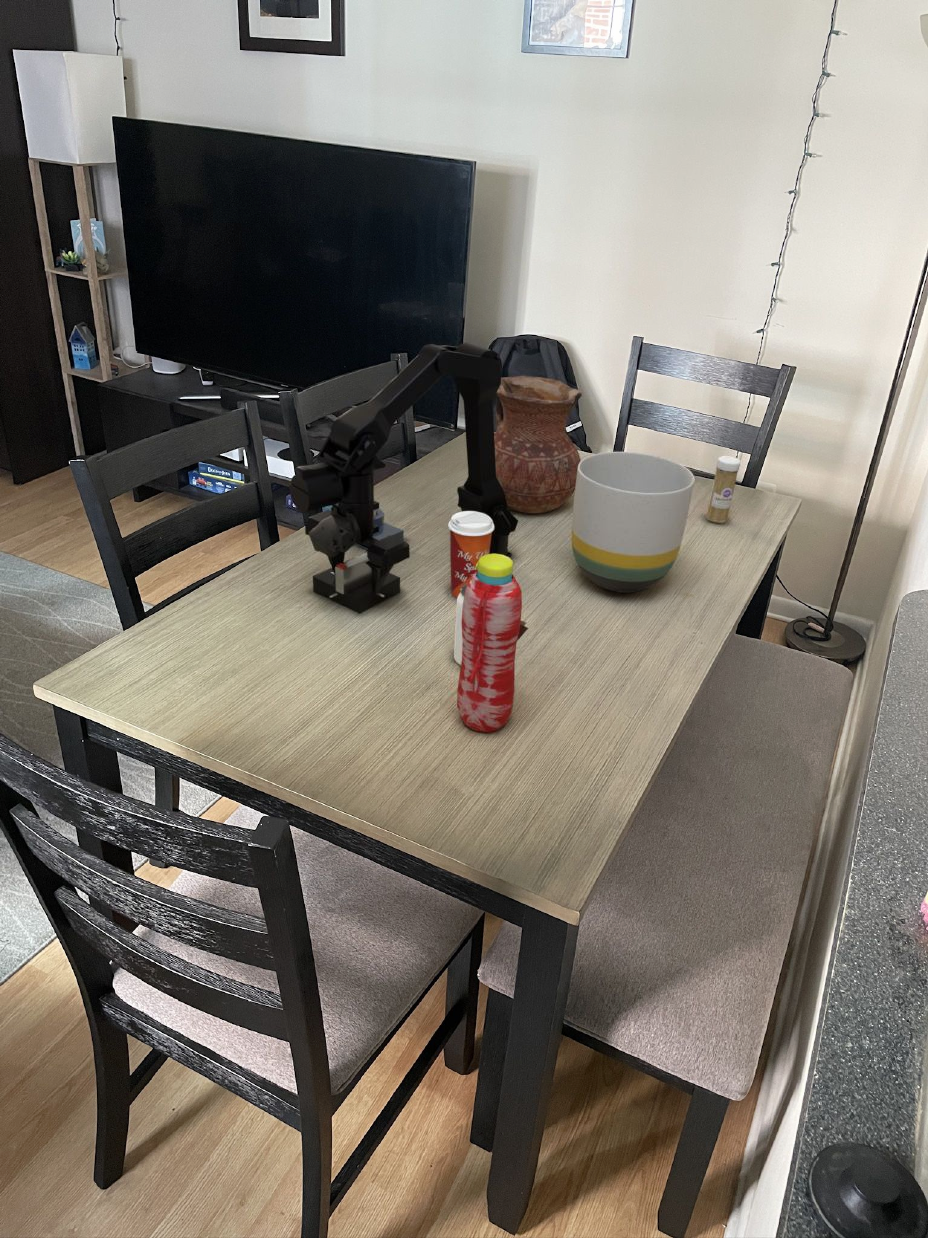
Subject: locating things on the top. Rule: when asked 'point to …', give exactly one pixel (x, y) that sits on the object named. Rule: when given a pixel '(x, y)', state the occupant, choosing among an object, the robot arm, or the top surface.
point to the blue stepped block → (384, 528)
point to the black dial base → (355, 591)
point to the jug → (535, 443)
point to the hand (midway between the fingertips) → (356, 584)
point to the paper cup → (467, 545)
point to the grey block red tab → (352, 574)
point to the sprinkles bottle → (723, 489)
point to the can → (459, 626)
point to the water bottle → (489, 644)
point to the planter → (629, 518)
